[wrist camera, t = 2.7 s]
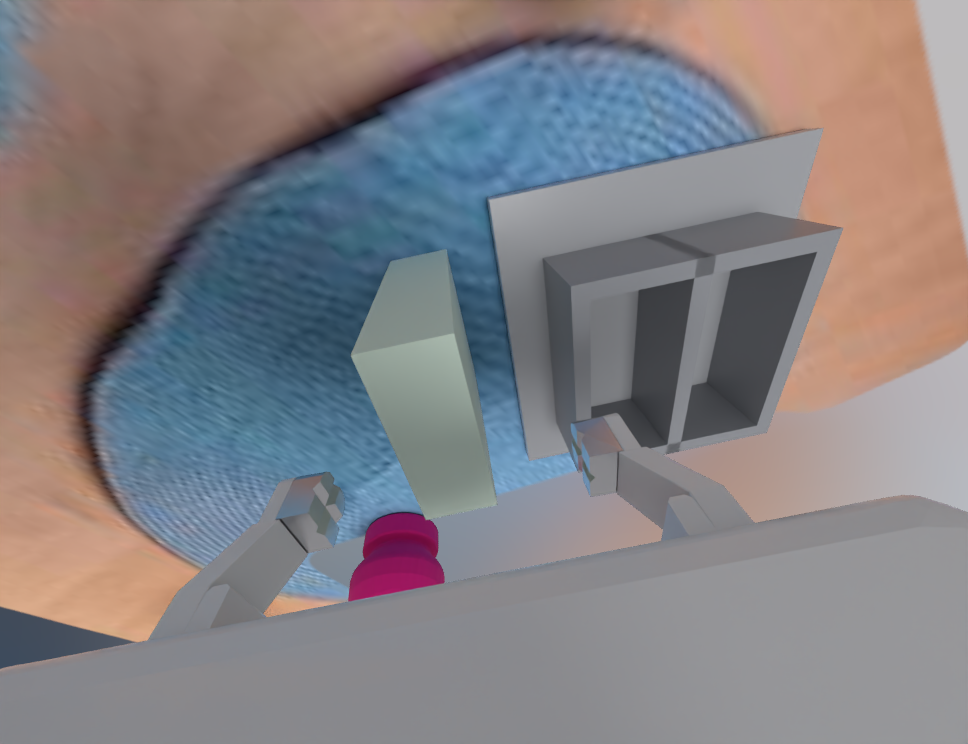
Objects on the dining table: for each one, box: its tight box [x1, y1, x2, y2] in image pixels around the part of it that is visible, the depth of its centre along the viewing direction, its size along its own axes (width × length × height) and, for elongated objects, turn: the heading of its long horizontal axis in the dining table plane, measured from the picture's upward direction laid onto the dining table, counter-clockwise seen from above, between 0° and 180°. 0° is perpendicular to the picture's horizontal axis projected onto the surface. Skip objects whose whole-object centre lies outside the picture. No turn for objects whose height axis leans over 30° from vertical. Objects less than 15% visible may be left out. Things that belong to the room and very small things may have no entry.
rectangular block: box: [351, 249, 497, 520], centre depth 16 cm, size 3×8×10 cm, turn 10°
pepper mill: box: [348, 513, 444, 602], centre depth 22 cm, size 7×7×20 cm
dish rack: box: [487, 128, 843, 473], centre depth 20 cm, size 16×18×6 cm
